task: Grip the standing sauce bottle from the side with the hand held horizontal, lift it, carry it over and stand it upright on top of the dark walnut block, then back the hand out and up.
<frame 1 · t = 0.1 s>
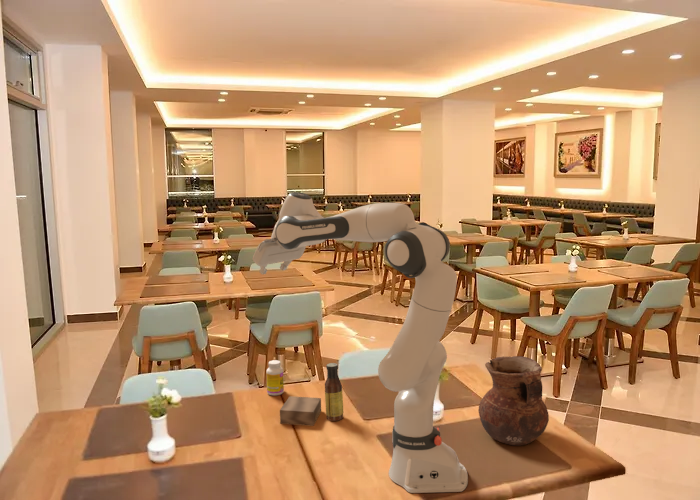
hand: (272, 271, 183), 54 cm above the table, tool tilted 30°, fingers open, 8 cm apart
walnut block: (301, 417, 195), on the table
jug: (512, 436, 178), on the table
supplement bottle: (275, 393, 217), on the table
sauce bottle: (334, 418, 193), on the table
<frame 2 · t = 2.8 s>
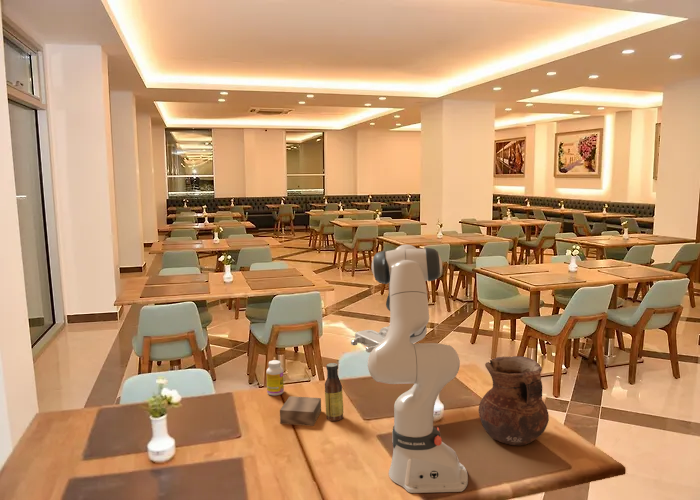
hand: (359, 346, 196), 24 cm above the table, tool horizontal, fingers open, 8 cm apart
nothing on the table moved.
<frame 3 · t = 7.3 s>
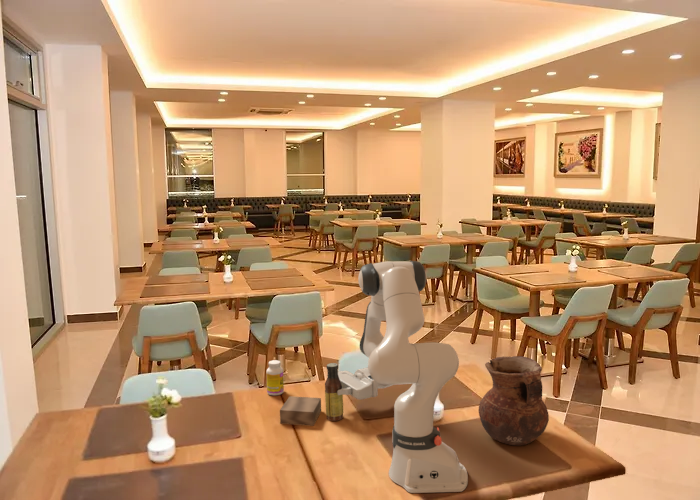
hand: (331, 389, 191), 11 cm above the table, tool horizontal, fingers closed on sauce bottle, 6 cm apart
sauce bottle: (334, 418, 193), on the table, touching gripper
everything else where it was.
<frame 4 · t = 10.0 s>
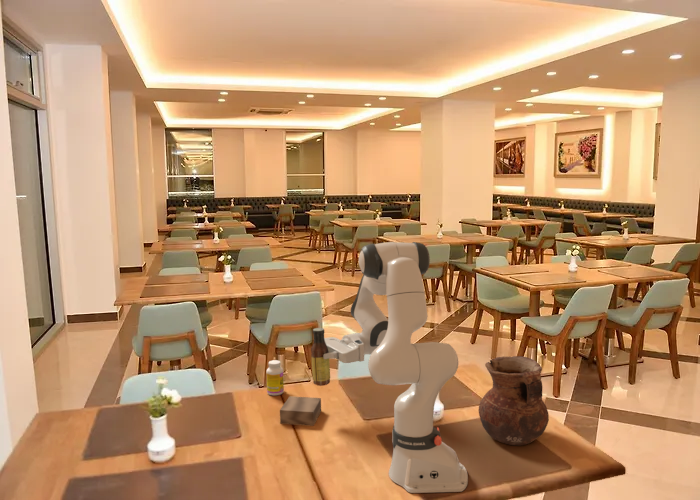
hand: (317, 353, 190), 24 cm above the table, tool horizontal, fingers closed on sauce bottle, 6 cm apart
sauce bottle: (321, 383, 192), point 13 cm above the table, touching gripper
everything else where it was.
when the fingers open (17 cm above the table, at t = 13.0 s): sauce bottle drops 1 cm, resting on walnut block.
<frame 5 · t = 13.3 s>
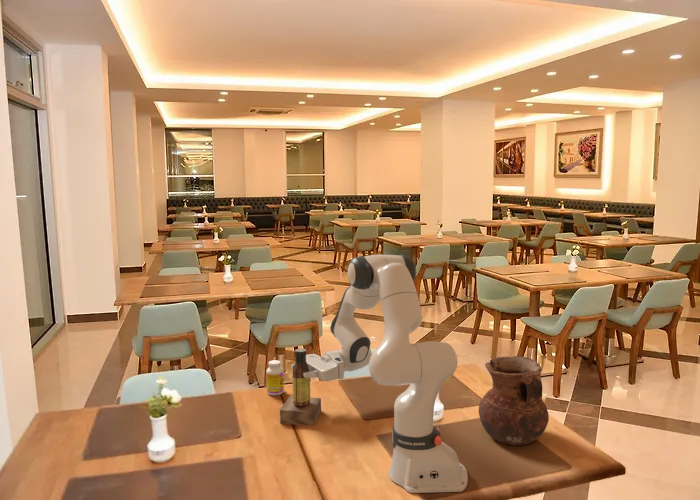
hand: (297, 371, 192), 17 cm above the table, tool horizontal, fingers open, 8 cm apart
sauce bottle: (301, 404, 194), point 5 cm above the table, touching walnut block
everything else where it was.
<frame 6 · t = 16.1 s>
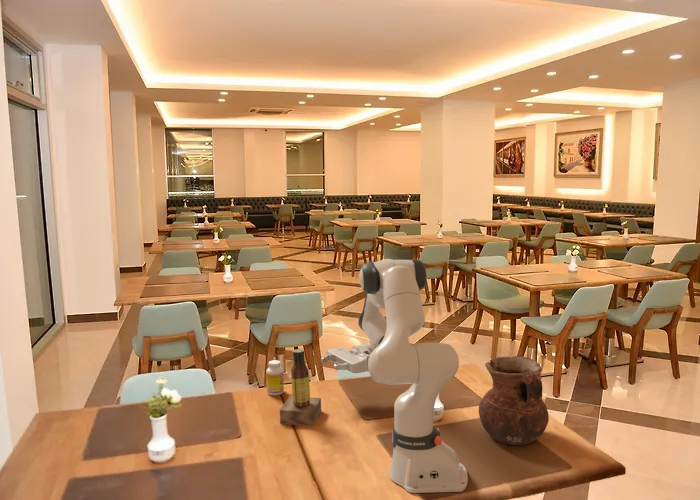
hand: (328, 363, 198), 18 cm above the table, tool horizontal, fingers open, 8 cm apart
nothing on the table moved.
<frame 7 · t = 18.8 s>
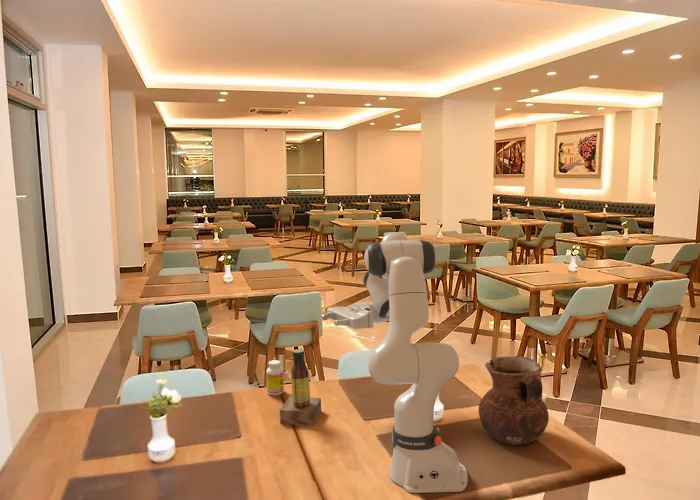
hand: (328, 320, 196), 34 cm above the table, tool horizontal, fingers open, 8 cm apart
nothing on the table moved.
at the end: sauce bottle inside the target area on the walnut block (0.2 cm from its centre), point 4.8 cm above the walnut block's base; sauce bottle tilted 0°; the gripper is holding nothing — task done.
